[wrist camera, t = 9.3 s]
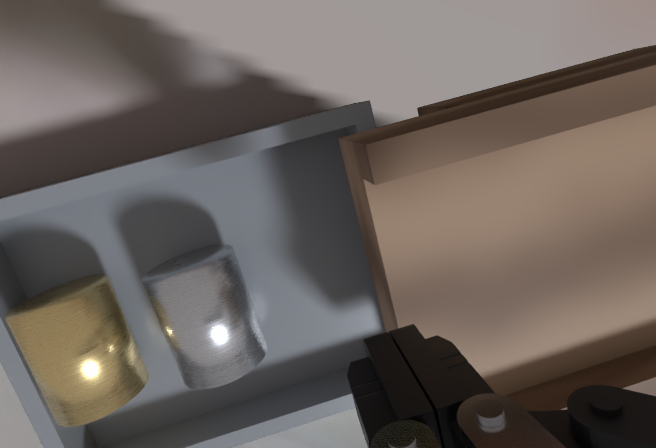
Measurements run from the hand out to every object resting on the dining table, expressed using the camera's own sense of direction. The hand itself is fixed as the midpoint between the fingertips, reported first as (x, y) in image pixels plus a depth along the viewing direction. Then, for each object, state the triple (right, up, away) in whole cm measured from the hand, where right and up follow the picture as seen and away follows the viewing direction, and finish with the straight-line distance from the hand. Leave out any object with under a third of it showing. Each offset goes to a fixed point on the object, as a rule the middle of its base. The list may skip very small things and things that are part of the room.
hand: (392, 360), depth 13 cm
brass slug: (-14, -2, +6) cm, 15 cm away
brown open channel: (+7, +5, +11) cm, 15 cm away
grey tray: (-7, +1, +10) cm, 13 cm away
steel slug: (-8, -1, +6) cm, 10 cm away
